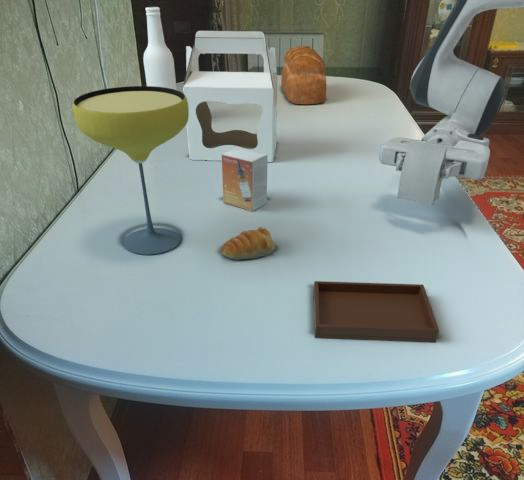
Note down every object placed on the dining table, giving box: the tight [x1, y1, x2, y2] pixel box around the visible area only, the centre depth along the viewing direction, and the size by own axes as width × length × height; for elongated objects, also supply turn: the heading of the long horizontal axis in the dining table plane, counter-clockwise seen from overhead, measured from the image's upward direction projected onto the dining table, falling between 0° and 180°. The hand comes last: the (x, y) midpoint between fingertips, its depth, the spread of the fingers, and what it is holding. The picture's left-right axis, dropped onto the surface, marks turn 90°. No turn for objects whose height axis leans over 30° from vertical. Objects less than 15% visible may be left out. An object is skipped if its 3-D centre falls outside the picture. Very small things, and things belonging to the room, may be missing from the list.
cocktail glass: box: [72, 85, 189, 256], centre depth 88 cm, size 18×18×25 cm
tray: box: [313, 280, 440, 343], centre depth 76 cm, size 17×12×2 cm
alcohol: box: [142, 6, 178, 90], centre depth 150 cm, size 9×9×30 cm
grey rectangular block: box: [396, 141, 447, 206], centre depth 93 cm, size 4×7×10 cm, turn 57°
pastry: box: [221, 226, 276, 261], centre depth 92 cm, size 9×7×4 cm
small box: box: [221, 148, 268, 212], centre depth 107 cm, size 8×6×10 cm
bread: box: [280, 45, 327, 105], centre depth 180 cm, size 14×26×16 cm, turn 5°
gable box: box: [182, 30, 278, 163], centre depth 127 cm, size 22×13×28 cm, turn 85°
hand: (422, 170), depth 92 cm, fingers closed on grey rectangular block, 7 cm apart
